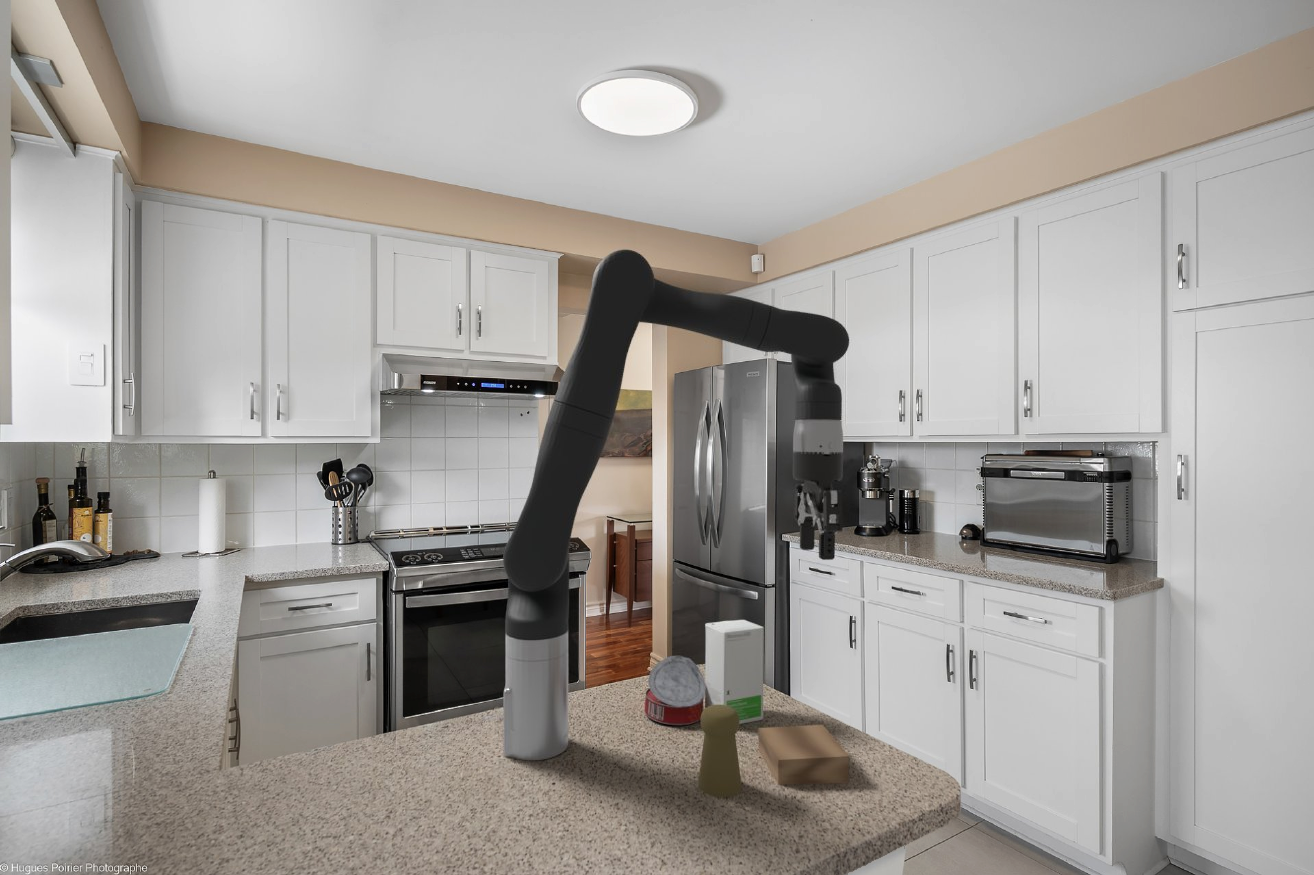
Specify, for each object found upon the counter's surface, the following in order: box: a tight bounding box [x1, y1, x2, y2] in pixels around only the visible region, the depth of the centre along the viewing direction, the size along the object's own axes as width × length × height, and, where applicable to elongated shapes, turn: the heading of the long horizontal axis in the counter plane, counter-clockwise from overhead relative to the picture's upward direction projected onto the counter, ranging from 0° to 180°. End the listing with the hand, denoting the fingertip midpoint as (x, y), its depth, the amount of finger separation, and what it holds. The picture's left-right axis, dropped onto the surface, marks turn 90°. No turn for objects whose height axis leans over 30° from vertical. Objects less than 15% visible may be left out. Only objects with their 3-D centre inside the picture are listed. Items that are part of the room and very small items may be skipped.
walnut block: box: [758, 724, 850, 786], centre depth 96 cm, size 10×10×4 cm
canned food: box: [644, 654, 706, 726], centre depth 113 cm, size 11×10×10 cm
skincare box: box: [704, 619, 765, 725], centre depth 113 cm, size 8×7×16 cm
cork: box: [697, 704, 743, 799], centre depth 89 cm, size 6×6×11 cm
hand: (816, 554), depth 103 cm, fingers open, 8 cm apart
